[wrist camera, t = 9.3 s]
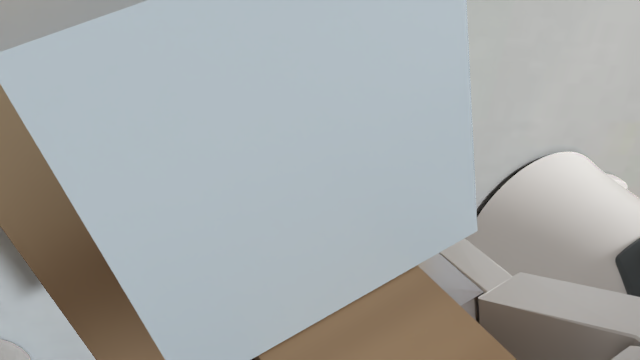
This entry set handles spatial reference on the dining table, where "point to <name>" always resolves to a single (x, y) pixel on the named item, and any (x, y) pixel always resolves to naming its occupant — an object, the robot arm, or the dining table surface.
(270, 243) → the block
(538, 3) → the dining table surface
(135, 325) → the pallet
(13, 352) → the coffee cup
